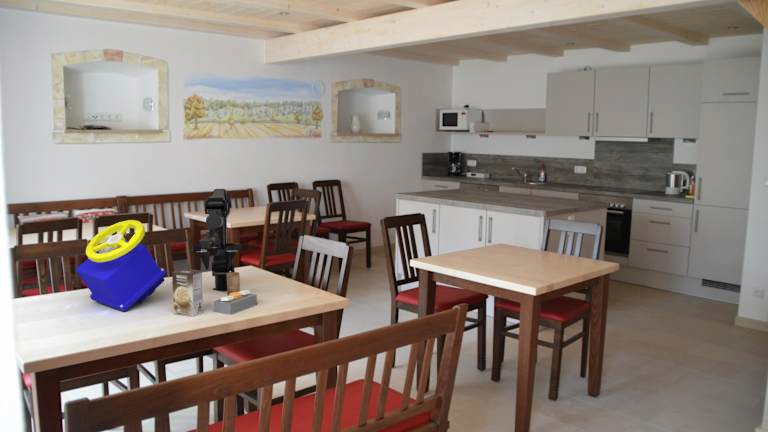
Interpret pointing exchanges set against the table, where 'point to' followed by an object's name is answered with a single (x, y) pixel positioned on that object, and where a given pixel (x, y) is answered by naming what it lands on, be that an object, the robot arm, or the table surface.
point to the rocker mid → (235, 295)
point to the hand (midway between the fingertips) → (217, 269)
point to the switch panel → (235, 304)
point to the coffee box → (187, 292)
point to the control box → (120, 267)
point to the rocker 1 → (227, 298)
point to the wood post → (233, 282)
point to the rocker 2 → (244, 292)
